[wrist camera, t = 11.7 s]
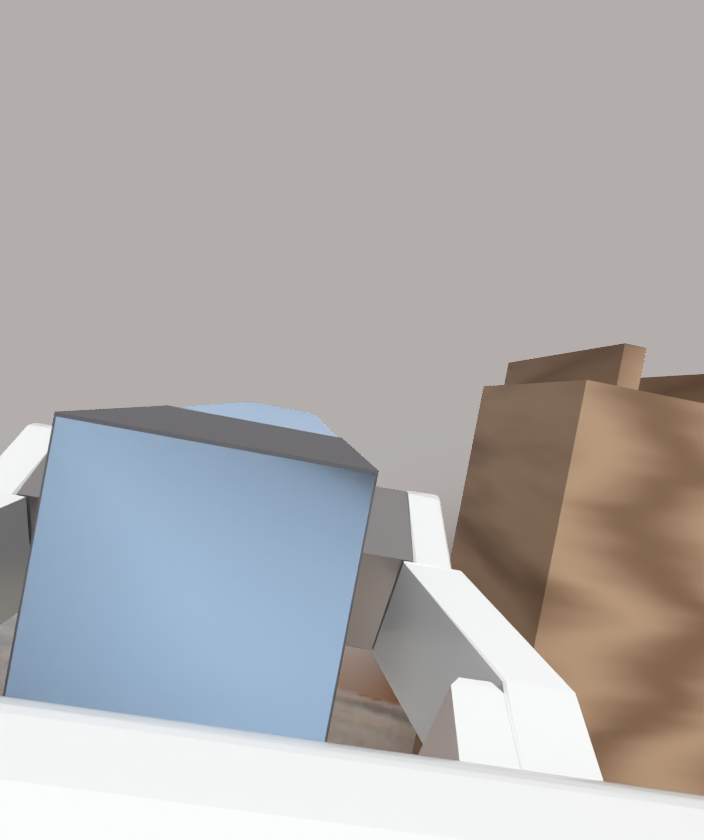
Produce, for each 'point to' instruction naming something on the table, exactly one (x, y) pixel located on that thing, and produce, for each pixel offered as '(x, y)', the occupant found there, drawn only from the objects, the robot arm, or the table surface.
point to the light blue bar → (193, 566)
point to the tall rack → (599, 547)
